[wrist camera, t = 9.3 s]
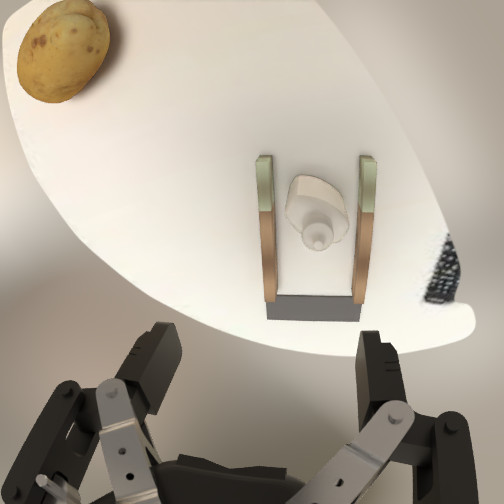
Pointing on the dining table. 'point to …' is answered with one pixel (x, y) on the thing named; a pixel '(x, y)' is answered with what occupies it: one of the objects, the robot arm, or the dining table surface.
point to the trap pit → (313, 308)
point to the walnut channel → (362, 236)
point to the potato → (62, 50)
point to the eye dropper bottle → (316, 212)
